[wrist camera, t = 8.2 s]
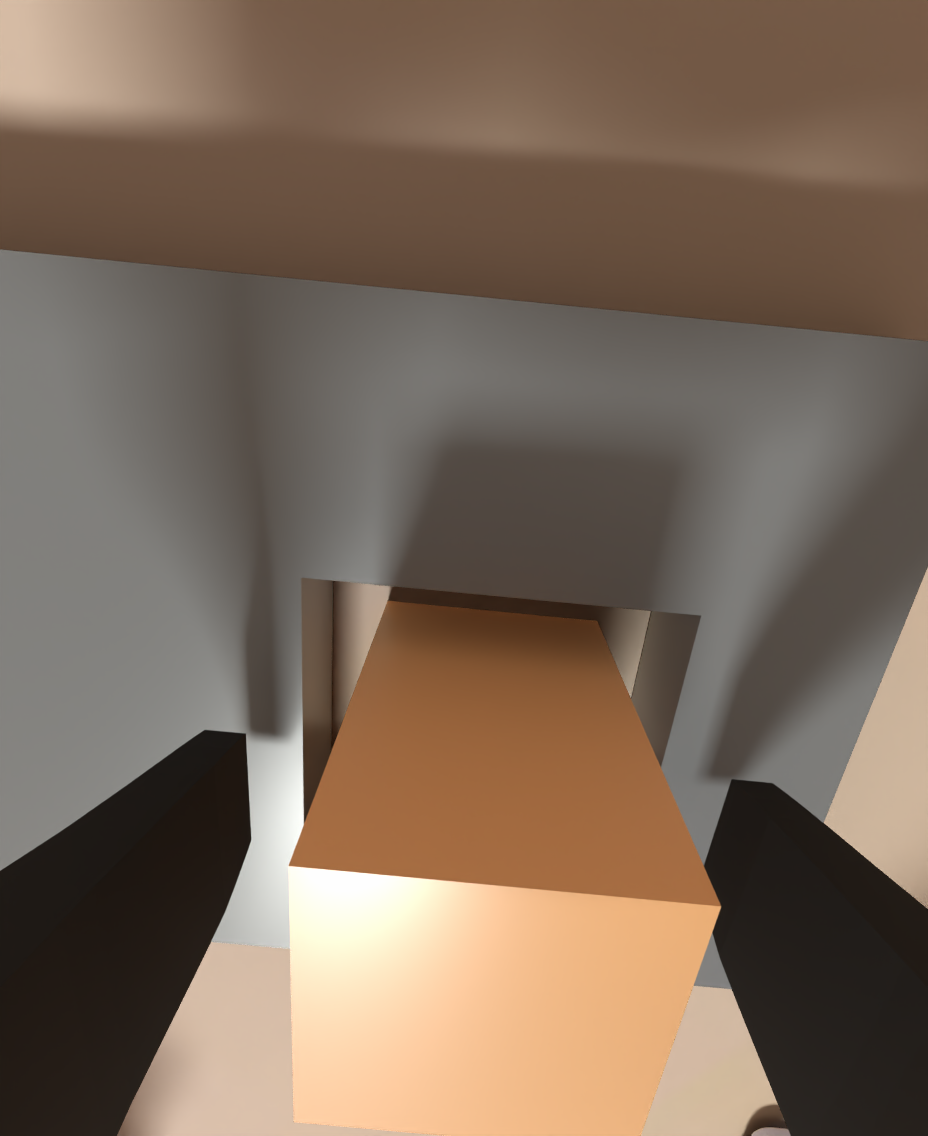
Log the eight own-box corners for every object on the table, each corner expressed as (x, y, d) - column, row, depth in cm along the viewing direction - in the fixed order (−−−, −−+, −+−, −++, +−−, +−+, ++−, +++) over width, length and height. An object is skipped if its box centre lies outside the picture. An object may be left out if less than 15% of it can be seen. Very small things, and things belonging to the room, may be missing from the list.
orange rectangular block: (597, 620, 11) (722, 906, 5) (564, 787, 12) (634, 1152, 7) (388, 600, 11) (288, 867, 5) (379, 769, 12) (293, 1121, 7)
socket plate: (903, 350, 9) (1015, 349, 7) (716, 900, 13) (754, 990, 11) (-112, 250, 9) (-270, 222, 7) (27, 837, 13) (-49, 918, 11)
